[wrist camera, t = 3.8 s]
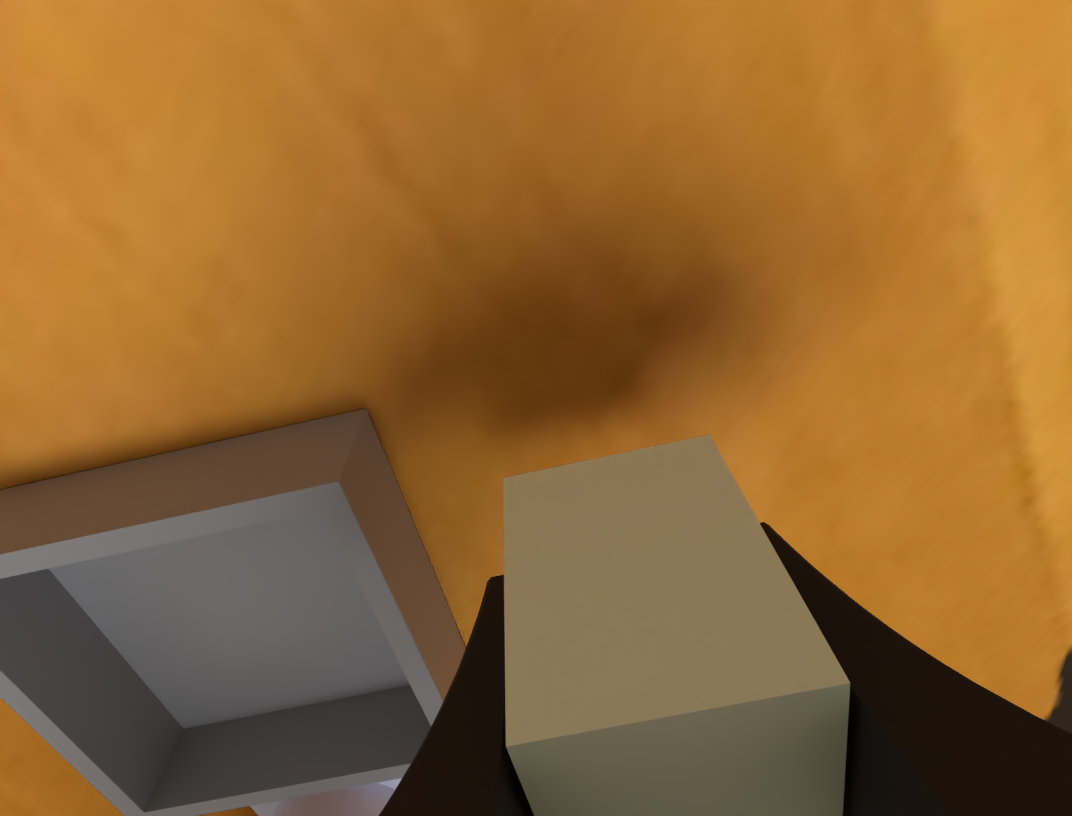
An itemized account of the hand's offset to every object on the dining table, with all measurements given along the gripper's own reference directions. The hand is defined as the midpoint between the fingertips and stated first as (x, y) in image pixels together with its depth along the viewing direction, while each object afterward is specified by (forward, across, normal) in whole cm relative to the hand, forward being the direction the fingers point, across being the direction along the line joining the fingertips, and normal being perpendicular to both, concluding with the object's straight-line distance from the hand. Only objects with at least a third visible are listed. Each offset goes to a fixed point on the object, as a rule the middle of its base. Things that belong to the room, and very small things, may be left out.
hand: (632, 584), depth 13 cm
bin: (+8, +14, +6) cm, 17 cm away
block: (+2, 0, 0) cm, 2 cm away
